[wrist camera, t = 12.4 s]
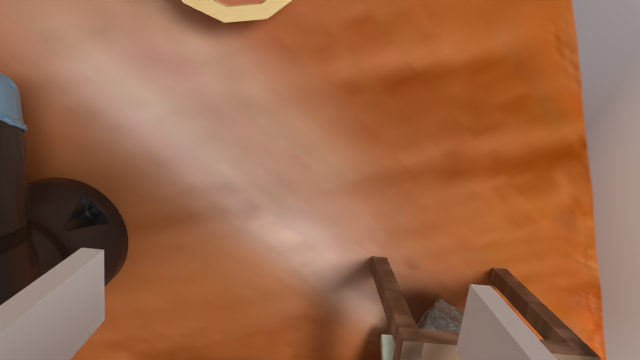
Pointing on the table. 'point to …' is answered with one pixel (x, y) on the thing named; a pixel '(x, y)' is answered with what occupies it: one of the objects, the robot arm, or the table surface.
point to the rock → (441, 317)
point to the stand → (440, 346)
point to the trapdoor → (387, 347)
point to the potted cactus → (238, 8)
